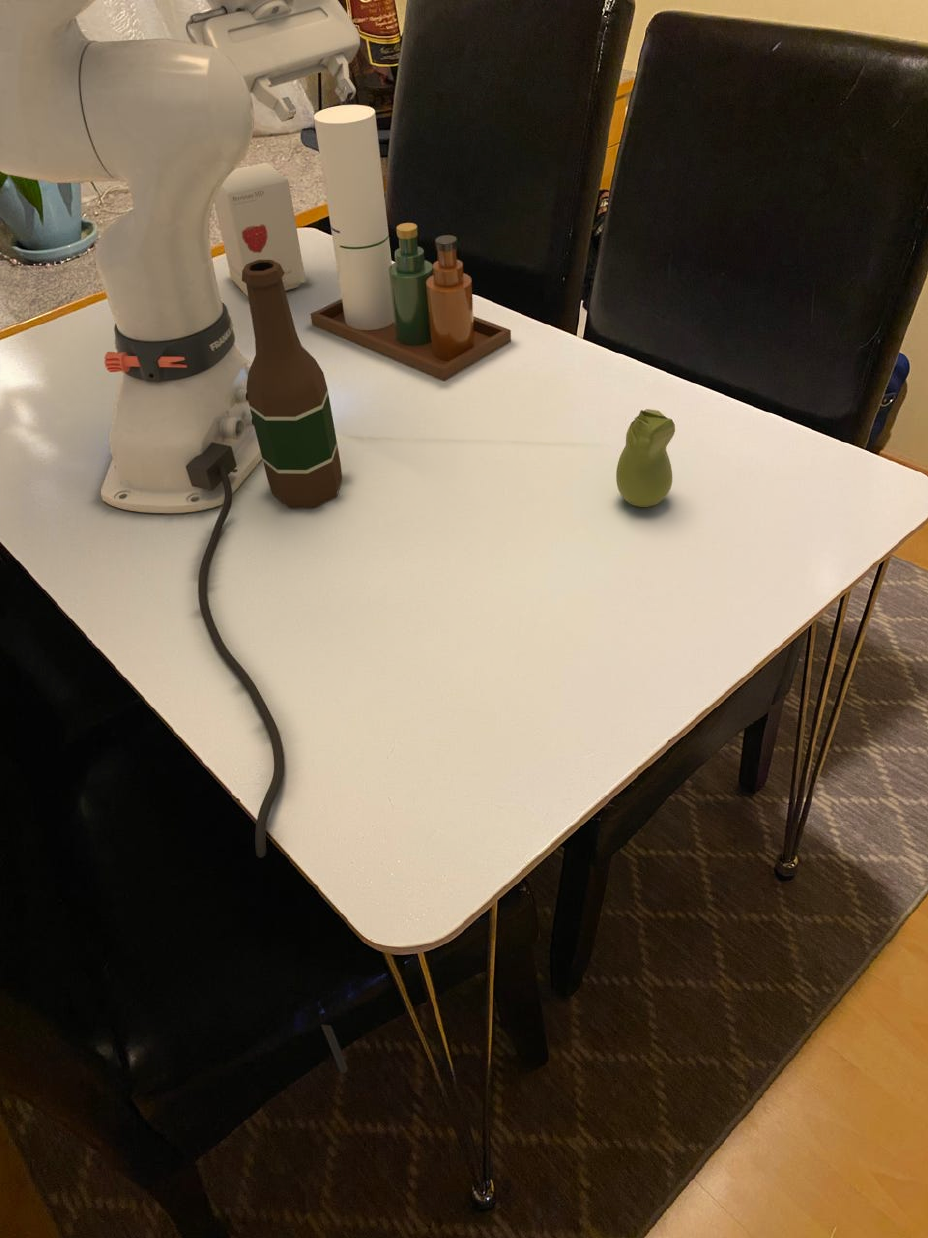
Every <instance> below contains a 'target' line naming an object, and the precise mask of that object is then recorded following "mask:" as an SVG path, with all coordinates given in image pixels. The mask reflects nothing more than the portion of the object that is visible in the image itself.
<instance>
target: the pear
mask: <svg viewBox="0 0 928 1238" xmlns="http://www.w3.org/2000/svg"><path fill="white" fill-rule="evenodd" d="M675 432H676V424H675V423H674V421H673V419H672V418H669V417H667V416H665V415H664V414H663V413H662V412H661V411H660V410H656V409H650V408H646V409H644V410H642V409H641V410H640V411H639V413H638V415H637V416H636V417H634V420H633V421H632V422H631V423H630V425H629V427H628V428H627V431H626V435H625V445H624V447H623V449H622V451H621V453H620V455H619V458H618V462H617V465H616V473H615V480H616V481H615V482H616V486H617V490H618V492H619V494H620V495H621V497H622V498H623V499H624V500H625V501H626V502H627V503H629V504H630V505H633V506H636V507H639V508H648V507H649V508H650V507H653V506H656V505H657V504H659V503H661V502H662V501H663V500H664V499H666V497H667V496H668V494H669V493H670V490H671V488H672V484H673V469H672V465H671V460H670V458H669V457H670V456H669V454H668V452H667V447H668V445H669V443H670V442H671V441H672V439H673V437H674V435H675V434H676V433H675Z"/></svg>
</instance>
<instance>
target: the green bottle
mask: <svg viewBox="0 0 928 1238" xmlns="http://www.w3.org/2000/svg"><path fill="white" fill-rule="evenodd" d="M418 231H419V230H418V225H417V224H416V223H414V222H405V223H400V224H398V225H397V226H396V236H397V238H398V245H399V248H397V249H395V251H394V261H395V262H394V263H392V265H391V266H390V267H389V278H390V287H391V296H392V305H393V314H394V323H395V332H396V338H397V340H398V341H399V342H400V343H402V344H405V345H413V346H414V345H423V344H427V343H430V342H431V336H430V324H429V312H428V300H427V288H426V281H427V279H428V278H429V277H431V276H433V264H432V263H431V261H428V260H425V250H424V249H423V247H421V246H419V245H418V234H419V232H418Z"/></svg>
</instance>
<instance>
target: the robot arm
mask: <svg viewBox="0 0 928 1238" xmlns="http://www.w3.org/2000/svg"><path fill="white" fill-rule="evenodd" d="M95 1H96V0H0V172H1V173H2V174H5V175H9V176H14V177H19V178H24V179H29V180H34V181H39V182H45V183H51V184H72V183H100V182H101V183H103V182H107V183H108V182H120V183H125V184H126V186H127V187H128V190H129V192H130V196H131V201H132V210H130V211H127V212H126V213H125V214H124V215H122V216H121V217H119V218H118V219H117V220H115V221H114V222H113V223H111V224H110V225H109V226H108V227H107V228H106V229H105V230H104V231H103V232H102V234H101V235H100V237H99V239H98V241H97V244H96V249H95V255H94V256H95V258H94V259H95V267H96V271H97V273H98V275H99V279H100V282H101V285H102V287H103V291H104V294H105V296H106V298H107V303H108V305H109V308H110V310H111V311H110V312H111V313H112V316H113V319H114V323H115V324H114V326H113V329H114V345H115V350H116V351H107V352H106V353H105V355H104V365H105V368H106V370H107V371H108V372H109V373H117V372H121V375H120V381H119V385H118V389H117V395H116V400H115V406H114V411H113V416H112V421H111V427H110V433H109V438H108V439H109V448H110V452H111V456H112V459H111V462H110V464H109V467H108V470H107V473H106V475H105V477H104V481H103V483H102V485H101V489H100V496H101V499H102V501H103V502H105V503H106V504H108V505H109V506H112V507H115V508H117V509H121V510H125V511H131V512H137V513H151V514H183V513H193V512H200V511H205V510H209V509H212V508H213V509H214V508H216V507H219V506H221V505H222V507H221V510H220V512H219V514H218V517H217V519H216V521H215V524H214V527H213V529H212V533H211V535H210V538H209V541H208V543H207V546H206V548H205V550H204V554H203V556H202V559H201V563H200V567H199V572H198V581H197V582H198V583H197V591H198V592H197V593H198V594H197V595H198V603H199V609H200V612H201V616H202V619H203V621H204V625H205V627H206V629H207V632H208V634H209V636H210V639H211V641H212V643H213V645H214V646H215V648H216V650H217V652H218V653H219V655H220V656H221V657H222V658H223V661H225V662H226V664H227V666H229V667H230V669H231V670H232V671H233V672H234V673H235V674H236V676H237V677H238V678H239V680H240V681H241V683H242V684H243V686H244V688H246V690H247V692H248V694H249V696H250V698H251V700H252V701H253V703H254V706H255V708H256V709H257V711H258V713H259V715H260V717H261V719H262V721H263V723H264V725H265V727H266V730H267V732H268V736H269V739H270V743H271V747H272V754H273V774H272V777H271V781H270V783H269V786H268V789H267V791H266V793H265V795H264V798H263V799H262V802H261V805H260V807H259V810H258V814H257V818H256V823H255V832H254V833H255V834H254V841H255V842H254V844H255V845H254V847H255V856H256V857H258V858H259V859H260V858H263V857H265V856H266V855H267V851H268V849H267V839H266V838H267V826H266V825H267V824H268V819H269V815H270V812H271V810H272V807H273V805H274V803H275V800H276V798H277V795H278V793H279V792H280V788H281V786H282V782H283V779H284V774H285V773H284V772H285V757H284V754H285V753H284V747H283V742H282V739H281V735H280V732H279V729H278V726H277V724H276V722H275V719H274V717H273V716H272V713H271V712H270V710H269V708H268V705H267V704H266V702H265V701H264V700H265V699H264V698H263V696H262V695H261V693H260V691H259V688H258V687H257V686H256V684H255V683H254V681H253V679H252V678H251V676H250V675H249V673H247V671H246V670H245V668H243V666H242V665H241V664H240V663H239V661H238V660H237V658H235V657H234V655H233V654H232V653H231V652H230V651H229V649H228V648H227V646H226V644H225V643H224V641H223V638H222V637H221V635H220V633H219V631H218V628H217V626H216V624H215V621H214V618H213V616H212V612H211V609H210V606H209V599H208V591H207V590H208V586H207V585H208V584H207V582H208V580H207V579H208V571H209V568H210V567H209V566H210V563H211V560H212V557H213V554H214V552H215V550H216V547H217V544H218V542H219V538H220V535H221V533H222V530H223V528H224V524H225V522H226V521H227V518H228V516H229V513H230V511H231V508H232V503H233V494H234V493H235V492H236V491H237V489H238V488H239V487H240V486H241V485H242V483H243V482H244V481H245V480H247V479H246V478H248V476H249V475H250V474H251V473H252V471H253V470H255V468H256V467H257V466H258V465H259V463H260V462H261V460H263V459H262V455H261V451H260V447H259V443H258V439H257V435H256V431H255V427H254V423H253V419H252V415H251V411H250V407H249V402H248V396H247V389H246V386H247V379H248V372H249V370H250V367H251V365H252V363H251V362H250V361H249V360H247V358H246V357H245V356H244V355H243V354H242V352H241V351H240V350H239V349H238V347H237V346H236V345H235V342H236V336H235V331H234V324H233V320H232V317H231V315H230V313H229V310H228V307H227V305H226V303H224V302H223V301H222V297H221V293H220V290H219V285H218V281H217V277H216V271H215V266H214V260H213V255H212V248H211V241H210V224H211V223H210V222H211V216H212V212H213V211H212V210H213V206H214V200H215V198H216V195H217V193H218V191H219V189H220V187H221V186H222V184H223V182H224V181H225V180H226V178H227V177H228V176H229V175H230V173H231V172H232V171H233V170H234V169H236V168H238V166H240V164H241V162H242V161H243V160H244V158H245V156H246V155H247V153H248V150H249V148H250V145H251V144H252V139H253V135H254V128H255V127H254V126H255V112H254V111H255V110H254V104H253V100H252V96H251V94H252V95H253V96H254V97H255V99H256V100H257V102H260V103H261V104H262V105H264V106H266V107H267V108H269V109H271V111H274V113H275V114H276V116H277V117H278V120H280V122H282V123H284V122H286V121H289V120H293V119H294V118H295V115H296V113H297V108H296V106H295V105H294V104H292V100H291V99H290V97H289V96H285V97H283V96H282V95H280V94H279V93H278V92H276V91H275V90H274V89H273V88H274V87H277V86H280V85H284V84H286V83H290V82H293V81H296V80H300V79H304V78H307V77H310V76H314V75H316V74H320V73H323V72H326V71H329V73H330V75H331V76H332V77H336V80H337V86H336V87H335V89H334V92H335V94H336V96H338V97H339V100H340V101H341V102H342V103H345V102H348V101H350V100H351V101H352V100H353V99H354V97H355V95H356V93H357V89H356V87H355V85H354V84H353V82H352V80H351V79H350V70H349V64H351V63H352V62H353V60H354V59H355V57H356V55H357V53H358V51H359V49H360V47H361V35H360V32H359V30H358V29H357V27H356V26H355V24H354V22H353V20H352V19H351V18H350V16H349V14H348V13H347V11H346V10H345V8H344V7H343V5H342V4H341V2H340V1H339V0H205V1H206V3H207V4H208V6H209V7H210V8H211V9H209V10H207V11H204V12H196V13H193V14H191V15H190V16H189V20H188V21H186V24H185V31H186V35H187V37H188V39H189V41H185V40H180V39H173V38H167V37H166V38H148V39H130V40H129V39H127V40H105V41H98V40H91V39H89V38H88V37H86V35H85V34H84V32H83V31H82V30H81V27H80V25H79V22H78V19H77V16H79V15H81V14H82V13H83V12H85V11H86V10H88V8H89V7H90V6H91V5H93V3H95ZM320 1026H321V1028H322V1031H323V1033H324V1036H325V1038H326V1040H327V1042H328V1045H329V1047H330V1049H331V1052H332V1054H333V1057H334V1059H335V1062H336V1064H337V1067H338V1069H339V1072H340V1073H341V1074H346V1073H347V1072H348V1070H349V1068H348V1065H347V1062H346V1060H345V1057H344V1055H343V1052H342V1050H341V1047H340V1045H339V1042H338V1040H337V1037H336V1034H335V1033H334V1030H333V1028H332V1025H329V1024H320Z"/></svg>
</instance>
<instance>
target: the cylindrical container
mask: <svg viewBox="0 0 928 1238" xmlns="http://www.w3.org/2000/svg"><path fill="white" fill-rule="evenodd" d="M376 116H377V115H376V110H375V109H374V108H373V107H371V106H368V105H363V104H362V105H361V104H342V105H337V106H331V107H327V108H324V109H321V110H318V111H317V112H316V113H315V114H314V115H313V120H314V127H315V133H316V140H317V146H318V147H317V148H318V153H319V159H320V160H319V161H320V166H321V173H322V178H323V187H324V192H325V198H326V205H327V212H328V218H329V224H330V230H331V238H332V245H333V250H334V257H335V258H334V259H335V264H336V269H337V276H338V277H337V278H338V282H339V289H340V296H341V299H342V303H343V310H344V316H345V322H346V324H347V325H348V326H350V327H352V328H355V329H359V330H375V329H380V328H383V327H386V326H389V325H391V324H392V323H394V314H393V305H392V296H391V287H390V278H389V267H390V266H391V265H392V264H393V261H392V254H391V245H390V236H389V226H388V225H389V224H388V218H387V209H386V206H387V205H386V199H385V190H384V188H385V187H384V180H383V171H382V161H381V152H380V143H379V135H378V126H377V117H376Z"/></svg>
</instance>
